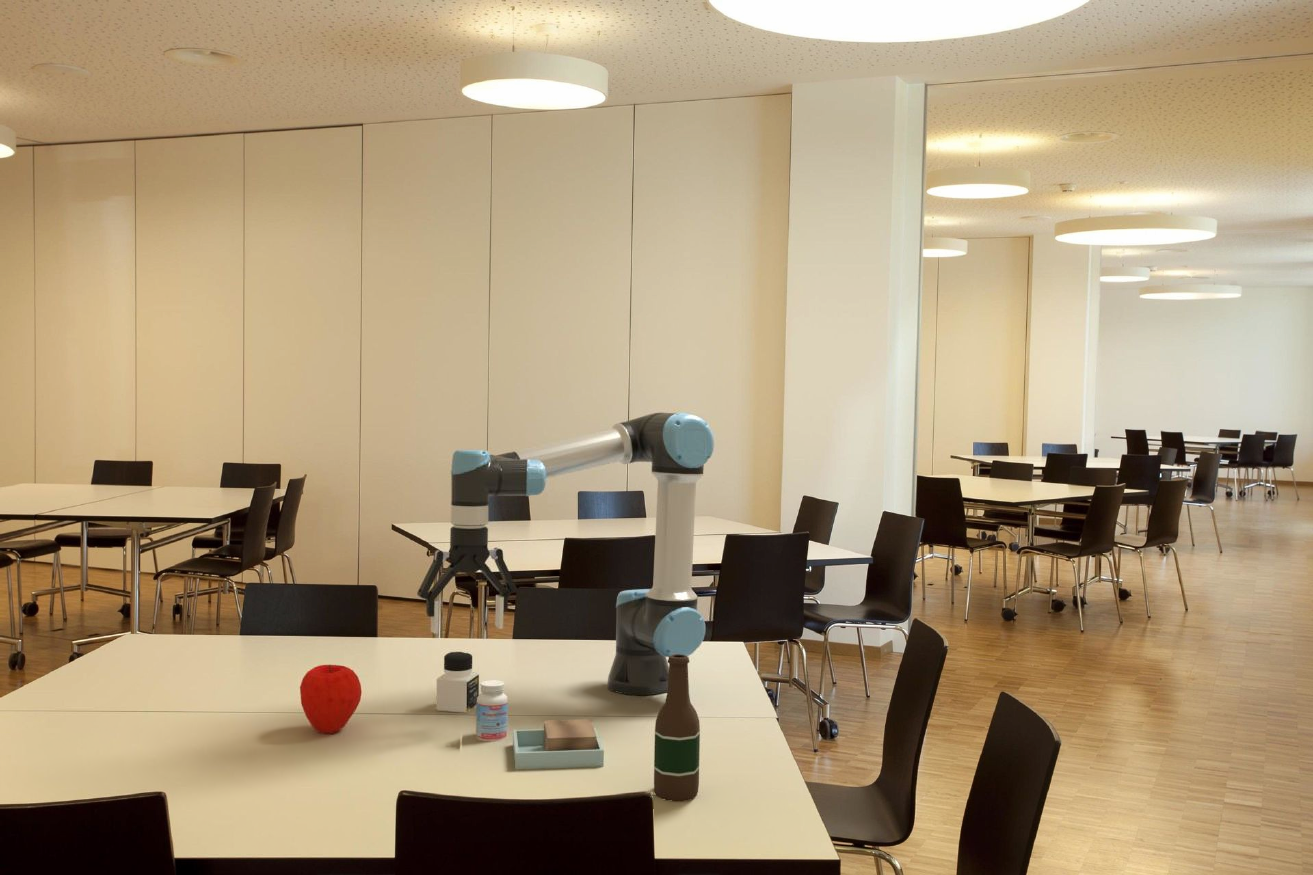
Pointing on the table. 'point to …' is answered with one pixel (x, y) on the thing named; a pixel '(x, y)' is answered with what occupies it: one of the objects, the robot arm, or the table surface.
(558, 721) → the walnut block
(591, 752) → the light blue tray
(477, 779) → the table surface
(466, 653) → the medicine bottle
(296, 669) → the table surface
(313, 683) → the apple
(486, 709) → the pill bottle
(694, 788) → the beer bottle
